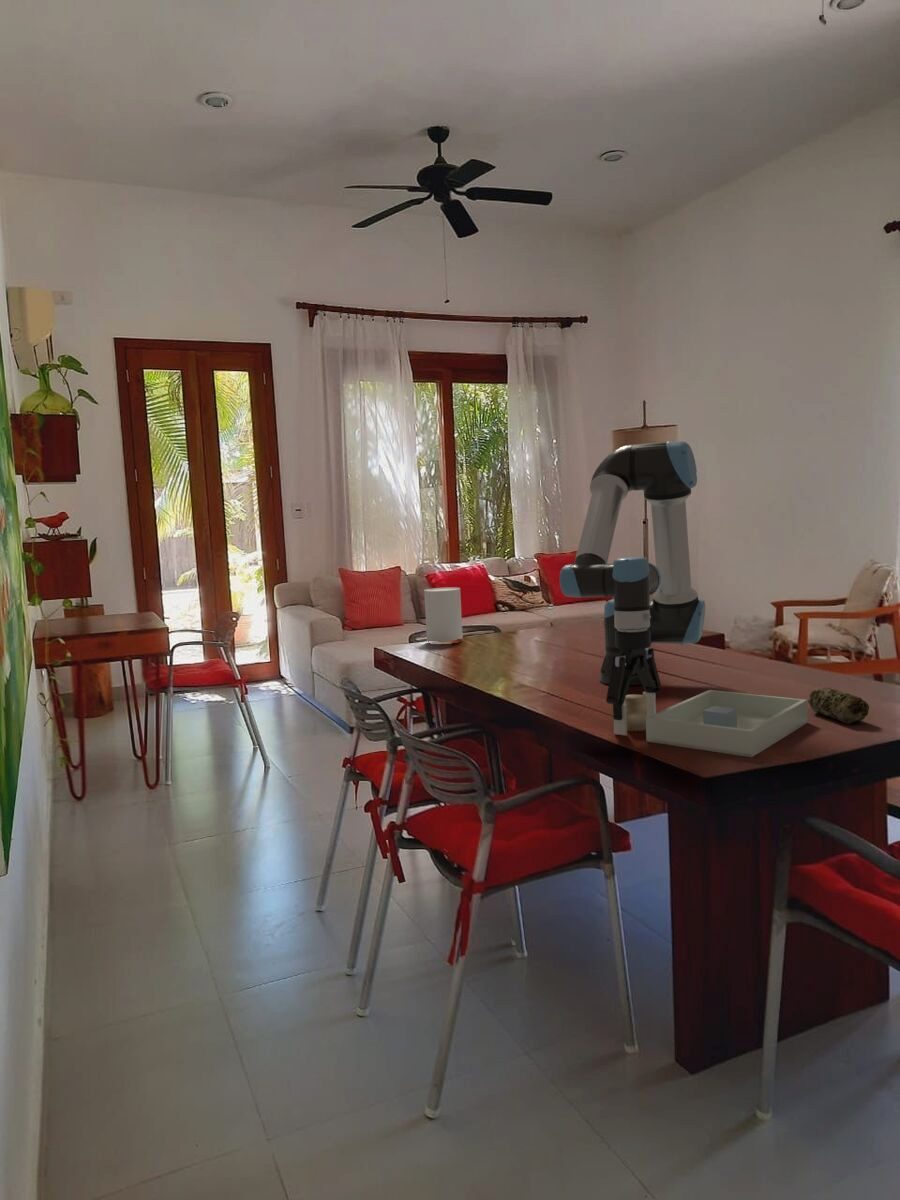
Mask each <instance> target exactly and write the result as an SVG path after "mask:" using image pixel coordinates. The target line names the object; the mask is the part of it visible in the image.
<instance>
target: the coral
mask: <svg viewBox="0 0 900 1200" xmlns="http://www.w3.org/2000/svg"><path fill="white" fill-rule="evenodd" d="M808 699H809V700H808ZM808 699H807V704H809V707H810V709H811V710H812V711H813V712H815V713H817V714H820V715H824V716H826V717H828V718H831V719H834V720H837V721H839V722H842V723H845V724H847V725H850V724H852V723H854V724H857V723H859V722H861V721H863V720H864V719H865V718H866V717H867V716H868V714H869V711H870V705H869V704H868V703H867V701H866V700H863V699H862V697H859V696H857V695H853V694H850V693H847V692H843V691H840V690H838V689H835V688H832V687H822V688H818V689H817V690H816V689H813V690H811V691H810V693H809V698H808Z"/></svg>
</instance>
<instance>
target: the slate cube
mask: <svg viewBox="0 0 900 1200" xmlns="http://www.w3.org/2000/svg"><path fill="white" fill-rule="evenodd" d="M703 724H709V725H717V726H724V727H732V728H737V709H736V708H727V707H719V706H712V707H710V708H708V709H706V710H704V711H703Z"/></svg>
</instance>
